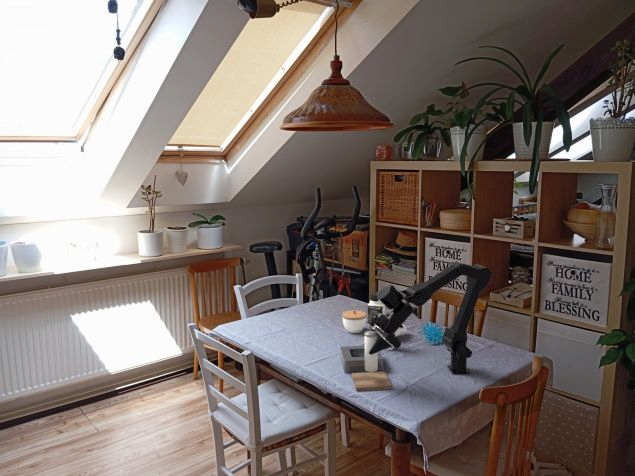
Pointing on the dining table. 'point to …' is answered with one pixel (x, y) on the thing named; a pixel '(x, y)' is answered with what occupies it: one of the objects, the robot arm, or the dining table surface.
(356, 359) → the collar
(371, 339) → the dome-capped cylinder
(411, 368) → the dining table surface
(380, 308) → the medicine bottle
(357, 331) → the lidded jar
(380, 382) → the pad
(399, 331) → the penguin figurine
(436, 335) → the blue fuzzy rounded lump
